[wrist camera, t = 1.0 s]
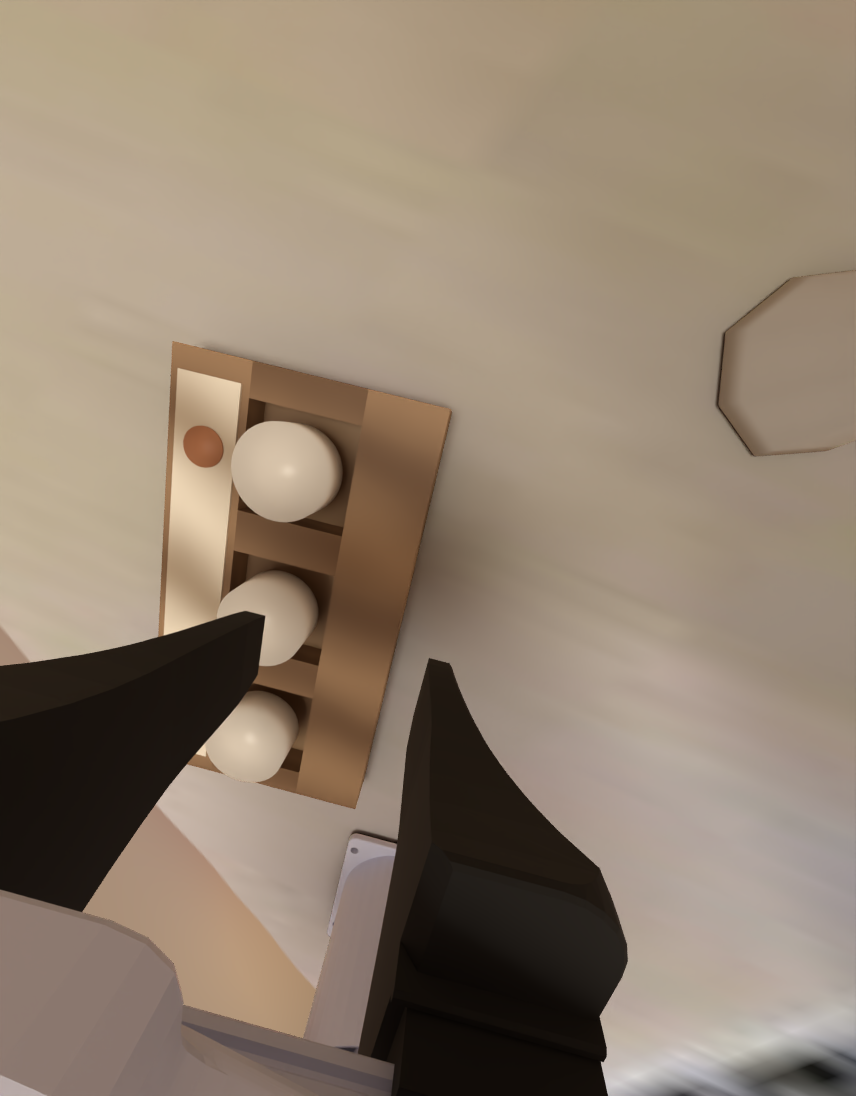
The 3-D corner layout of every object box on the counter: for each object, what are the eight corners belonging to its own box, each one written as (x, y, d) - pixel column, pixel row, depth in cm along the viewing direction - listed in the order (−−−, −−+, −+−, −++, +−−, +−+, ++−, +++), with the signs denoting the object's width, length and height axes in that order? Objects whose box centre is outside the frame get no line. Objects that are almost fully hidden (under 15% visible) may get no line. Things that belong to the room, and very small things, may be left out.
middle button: (312, 653, 20) (296, 675, 18) (236, 633, 20) (213, 653, 19) (324, 581, 19) (308, 597, 17) (244, 561, 19) (220, 575, 17)
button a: (334, 522, 18) (319, 532, 17) (251, 501, 19) (226, 509, 17) (349, 434, 17) (335, 434, 15) (261, 413, 17) (235, 410, 16)
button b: (293, 760, 22) (277, 790, 20) (224, 742, 22) (202, 771, 21) (303, 701, 21) (287, 727, 19) (231, 682, 21) (208, 706, 19)
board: (363, 780, 25) (354, 812, 22) (176, 730, 25) (149, 757, 23) (452, 412, 18) (450, 408, 16) (202, 350, 19) (169, 340, 17)
